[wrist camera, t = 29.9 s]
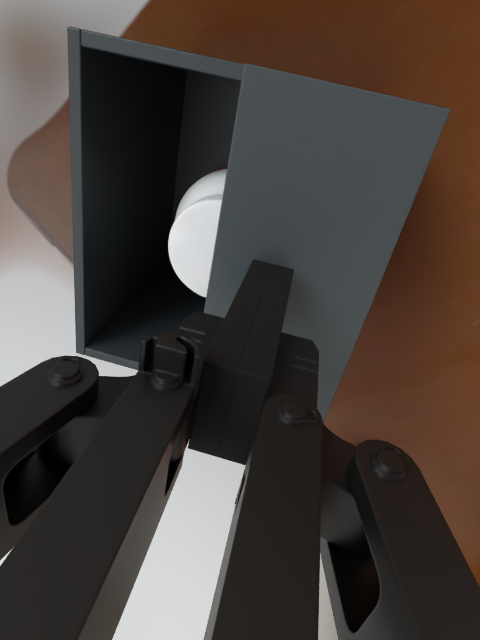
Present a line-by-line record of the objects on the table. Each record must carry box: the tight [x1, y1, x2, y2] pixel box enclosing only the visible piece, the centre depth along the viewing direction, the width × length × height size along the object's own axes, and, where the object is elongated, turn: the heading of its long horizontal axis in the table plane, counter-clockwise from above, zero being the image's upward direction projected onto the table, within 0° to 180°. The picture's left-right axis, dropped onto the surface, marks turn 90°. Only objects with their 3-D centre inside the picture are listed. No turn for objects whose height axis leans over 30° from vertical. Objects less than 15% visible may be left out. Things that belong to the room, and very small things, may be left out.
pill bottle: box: [168, 163, 228, 298], centre depth 22 cm, size 6×6×11 cm
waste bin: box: [67, 27, 444, 370], centre depth 22 cm, size 14×13×12 cm
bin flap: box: [204, 63, 450, 422], centre depth 15 cm, size 14×6×1 cm, turn 169°
